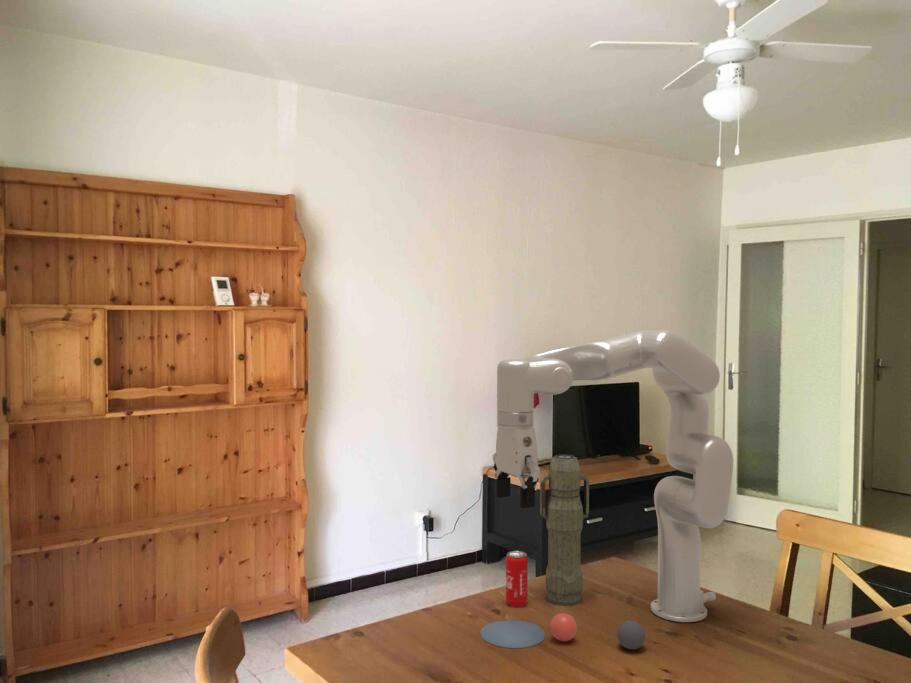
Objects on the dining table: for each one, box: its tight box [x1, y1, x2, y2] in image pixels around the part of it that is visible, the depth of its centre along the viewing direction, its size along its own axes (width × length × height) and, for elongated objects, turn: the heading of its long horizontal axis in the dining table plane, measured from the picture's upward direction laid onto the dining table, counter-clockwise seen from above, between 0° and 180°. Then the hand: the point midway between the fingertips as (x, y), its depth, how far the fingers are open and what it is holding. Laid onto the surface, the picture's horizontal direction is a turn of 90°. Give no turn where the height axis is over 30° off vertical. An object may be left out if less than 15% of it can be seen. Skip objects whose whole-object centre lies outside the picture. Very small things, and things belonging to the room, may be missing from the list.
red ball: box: [550, 612, 578, 642], centre depth 156 cm, size 6×6×6 cm
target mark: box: [480, 619, 546, 649], centre depth 159 cm, size 14×14×1 cm
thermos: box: [539, 454, 590, 606], centre depth 179 cm, size 9×12×35 cm
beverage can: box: [505, 550, 529, 608], centre depth 176 cm, size 5×5×12 cm
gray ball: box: [616, 620, 646, 650], centre depth 152 cm, size 6×6×6 cm
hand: (515, 501), depth 152 cm, fingers open, 9 cm apart
